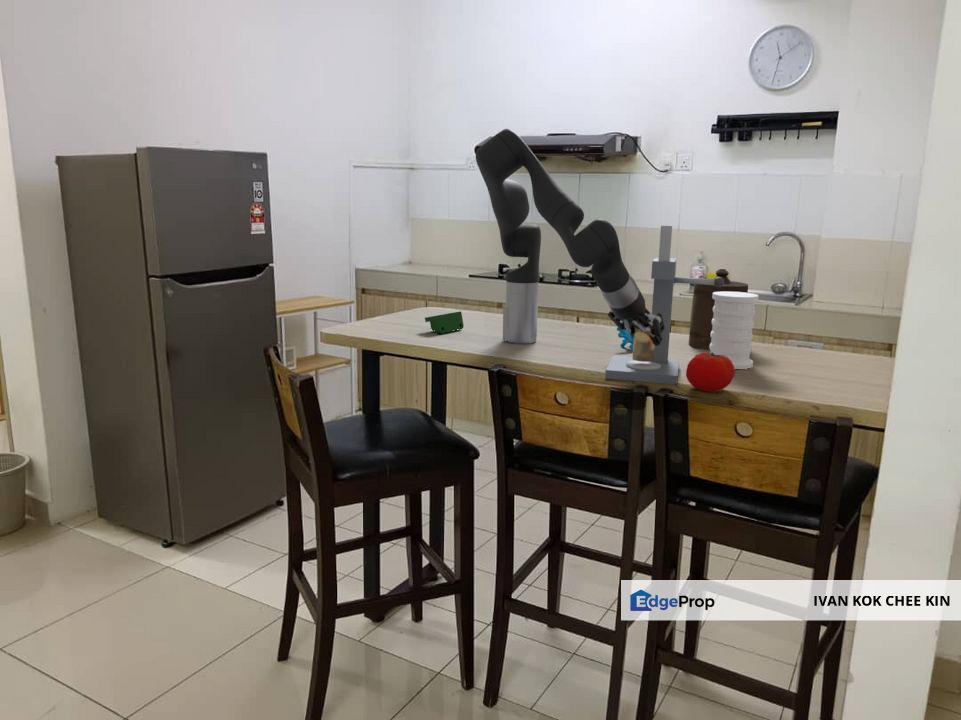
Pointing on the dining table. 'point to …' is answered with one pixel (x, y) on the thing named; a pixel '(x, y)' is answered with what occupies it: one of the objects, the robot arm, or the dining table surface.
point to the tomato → (710, 372)
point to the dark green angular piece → (446, 322)
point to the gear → (625, 335)
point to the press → (662, 303)
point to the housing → (643, 346)
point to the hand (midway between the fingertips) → (649, 340)
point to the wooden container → (708, 308)
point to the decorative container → (733, 326)
